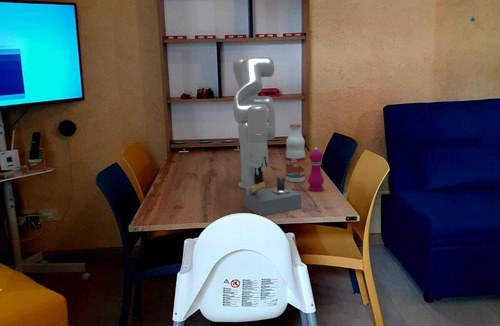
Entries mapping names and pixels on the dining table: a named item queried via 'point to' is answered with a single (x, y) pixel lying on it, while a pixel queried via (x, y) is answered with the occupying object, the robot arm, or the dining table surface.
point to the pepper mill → (316, 171)
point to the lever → (257, 187)
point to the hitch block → (271, 201)
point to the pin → (280, 186)
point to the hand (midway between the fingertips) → (258, 183)
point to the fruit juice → (295, 155)
